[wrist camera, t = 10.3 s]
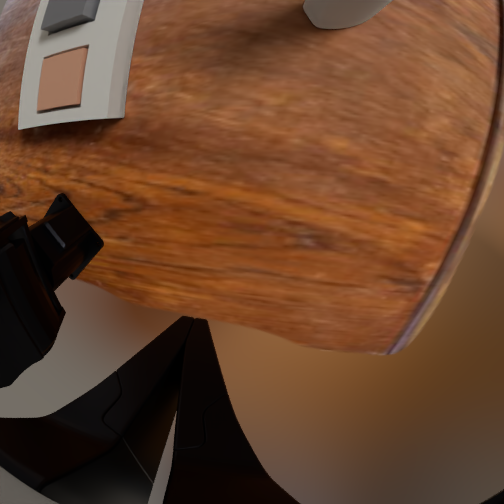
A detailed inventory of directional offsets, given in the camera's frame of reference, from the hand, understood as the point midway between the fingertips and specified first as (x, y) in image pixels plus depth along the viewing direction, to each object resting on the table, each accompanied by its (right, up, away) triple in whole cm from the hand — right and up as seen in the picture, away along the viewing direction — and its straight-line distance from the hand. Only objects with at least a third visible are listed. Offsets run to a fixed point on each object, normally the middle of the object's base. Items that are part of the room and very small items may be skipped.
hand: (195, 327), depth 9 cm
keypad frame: (-11, +23, +4) cm, 26 cm away
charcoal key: (-11, +22, +2) cm, 25 cm away
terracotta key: (-12, +16, +6) cm, 21 cm away
